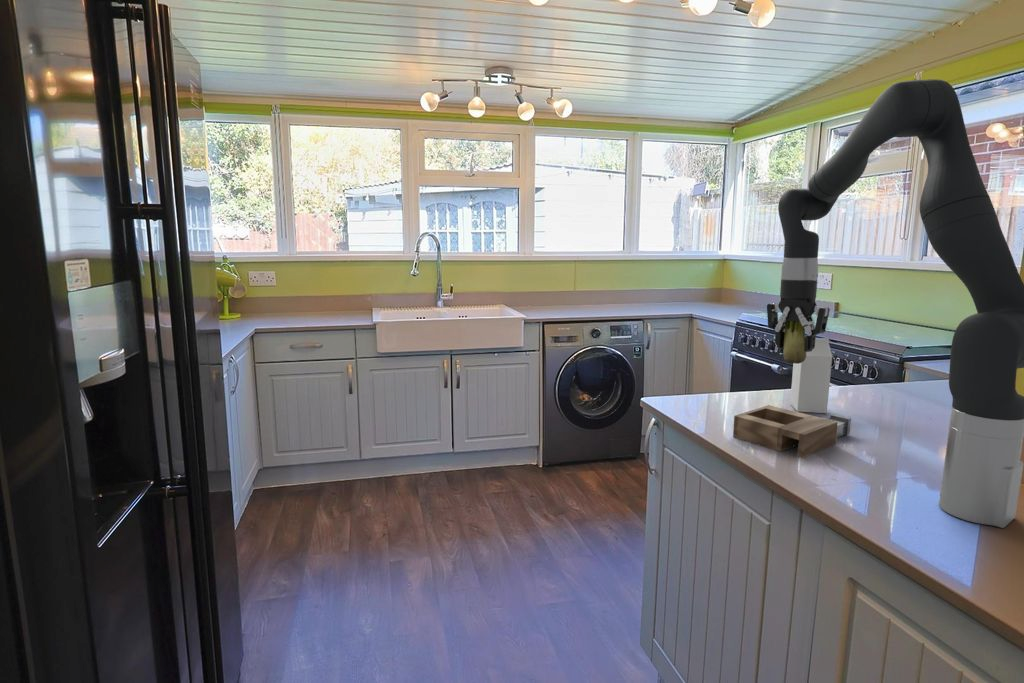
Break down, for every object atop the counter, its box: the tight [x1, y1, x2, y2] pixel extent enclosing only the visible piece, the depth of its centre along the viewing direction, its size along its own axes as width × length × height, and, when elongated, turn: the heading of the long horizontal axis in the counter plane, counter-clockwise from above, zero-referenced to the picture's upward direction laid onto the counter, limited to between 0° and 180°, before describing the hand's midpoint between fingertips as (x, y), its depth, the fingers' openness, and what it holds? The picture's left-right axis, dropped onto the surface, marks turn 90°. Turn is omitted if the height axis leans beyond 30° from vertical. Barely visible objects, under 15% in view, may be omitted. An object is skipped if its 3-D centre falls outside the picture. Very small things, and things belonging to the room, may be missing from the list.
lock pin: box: [829, 413, 852, 439], centre depth 128 cm, size 4×13×4 cm, turn 126°
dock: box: [732, 404, 838, 459], centre depth 128 cm, size 16×14×5 cm
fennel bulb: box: [782, 319, 806, 364], centre depth 134 cm, size 6×5×12 cm
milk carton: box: [789, 337, 833, 414], centre depth 150 cm, size 7×7×19 cm
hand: (794, 349), depth 134 cm, fingers closed on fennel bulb, 6 cm apart
